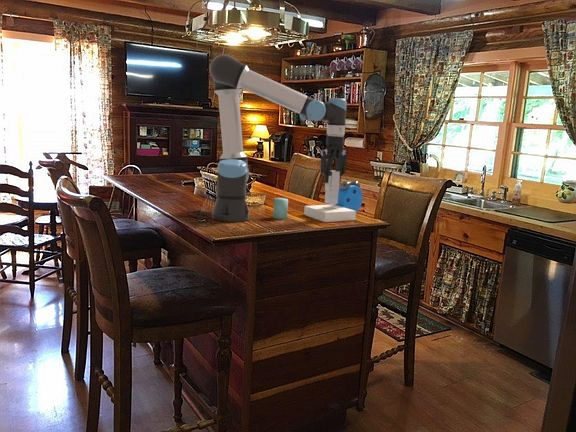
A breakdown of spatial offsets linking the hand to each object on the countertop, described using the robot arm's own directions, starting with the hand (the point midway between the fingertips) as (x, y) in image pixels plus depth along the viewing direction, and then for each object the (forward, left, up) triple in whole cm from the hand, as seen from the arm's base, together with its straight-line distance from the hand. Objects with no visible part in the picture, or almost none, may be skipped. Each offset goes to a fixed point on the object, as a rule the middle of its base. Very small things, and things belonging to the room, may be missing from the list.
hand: (331, 190), depth 214 cm
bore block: (0, 0, -12) cm, 12 cm away
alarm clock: (+14, +6, -12) cm, 20 cm away
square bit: (0, 0, -6) cm, 6 cm away
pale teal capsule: (-22, +5, -12) cm, 26 cm away
